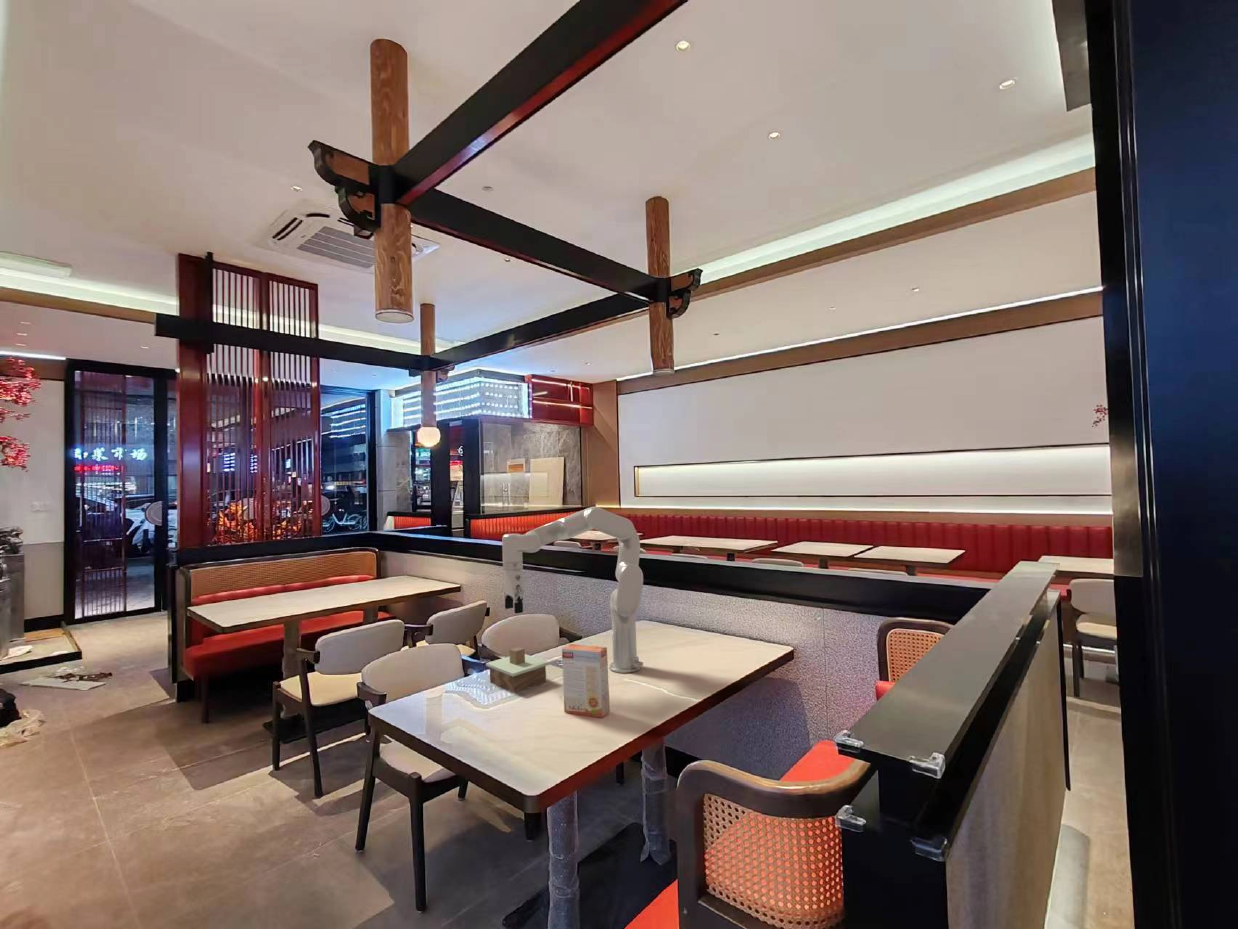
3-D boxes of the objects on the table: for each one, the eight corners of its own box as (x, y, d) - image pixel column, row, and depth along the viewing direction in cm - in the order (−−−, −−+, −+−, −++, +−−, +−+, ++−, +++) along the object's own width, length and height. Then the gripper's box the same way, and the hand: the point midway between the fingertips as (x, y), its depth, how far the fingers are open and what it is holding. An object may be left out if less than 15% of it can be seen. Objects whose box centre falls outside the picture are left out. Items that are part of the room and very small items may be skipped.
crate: (546, 683, 206) (545, 664, 207) (514, 695, 197) (513, 675, 197) (521, 674, 218) (520, 656, 218) (490, 684, 208) (489, 665, 208)
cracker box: (610, 711, 179) (607, 646, 180) (602, 719, 174) (599, 651, 174) (572, 705, 185) (570, 642, 186) (563, 712, 180) (561, 647, 180)
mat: (591, 669, 220) (591, 668, 220) (555, 682, 207) (555, 681, 207) (560, 659, 234) (560, 658, 234) (524, 671, 221) (524, 670, 221)
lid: (549, 667, 207) (548, 648, 207) (513, 679, 195) (512, 659, 196) (521, 657, 219) (520, 640, 220) (486, 668, 208) (485, 649, 208)
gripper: (530, 567, 208) (532, 613, 208) (513, 562, 223) (514, 605, 222) (511, 569, 204) (513, 616, 204) (495, 564, 219) (496, 608, 218)
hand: (513, 610), depth 213 cm, fingers open, 9 cm apart
